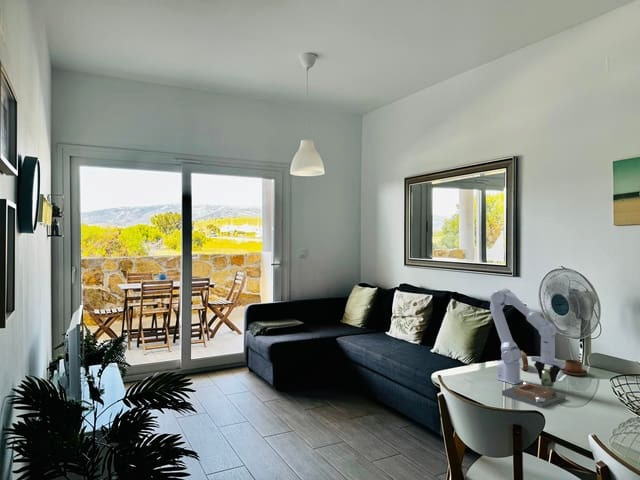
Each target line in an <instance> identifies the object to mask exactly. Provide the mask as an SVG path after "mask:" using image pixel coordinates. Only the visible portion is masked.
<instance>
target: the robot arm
mask: <svg viewBox="0 0 640 480" xmlns="http://www.w3.org/2000/svg"><path fill="white" fill-rule="evenodd" d="M489 298H490V306H489V311H490V312H491V316H492V320H493V321H494V324H495V328H496V331H497V334H498V337H499V339H500V342H501V345H500V351H501V355H500V356H501V359H502V360H500V361H499V362H498V364H497V378H496V380H498V381H502V382H505V383H508V384H511V385H517V384H520V383H523V381H524V380H523V379H520V377H521V374H520V372H521V370H520V369H521V368H520V362H519V359H520V358H521V357H522V353H521V350H520V348H519V347H518V345H517V343H516V342H515V341H514V339H513V337H512V334H511V331H510V329H509V325H508V323H507V320H506V316H505V313H504V311H503V309H504V307H505V306H506V305H511V306H513V307H514V308H515V309H517V310H518V311H519V312H520V313H522V314H523V315H524V316H525V317H526V318H525V319H526V321H527V322H528V323H530V324H531V326H533V327H534V328H535V329H536V330H537V331H538V334H539V336H540V357H538V356H534V355H533V356H531V357H530V359H531V362H535V363H533V364H534V367H535V369H536V371H537V373H538V378H539V380H541V370H542V369H545V366H547V365H548V366H550V367H549V369H551V381H552V383H556V381H557V377H558V376H559V373H560V371H561V368H562V369H564V368H565V363H563V362H560V361H557V360H556V357H555V356H556V334H557V332H558V330H557V327H556V326H555V325H554V323H552V322H550V321H549V320H546V318H544V317H542V315H541V313H540V312H537V311H532V310H531V309H530V308H529V307H527V305H526V304H525V303H523V301H521V300H520V299H519V298H518V297H517V295H516V294H515V293H513V292H512V291H511V290H510V289H508V288H502V289H496V290H494V291H493V292H492V294H491V295H490V297H489Z"/></svg>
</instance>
